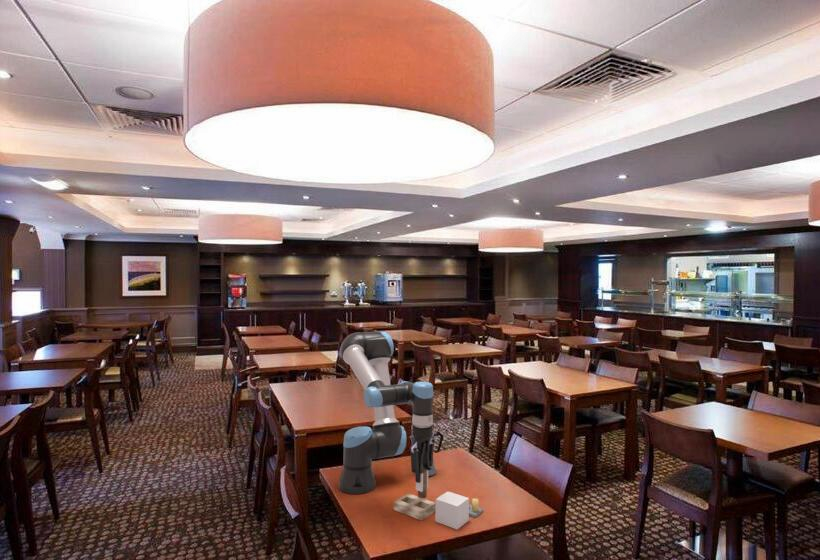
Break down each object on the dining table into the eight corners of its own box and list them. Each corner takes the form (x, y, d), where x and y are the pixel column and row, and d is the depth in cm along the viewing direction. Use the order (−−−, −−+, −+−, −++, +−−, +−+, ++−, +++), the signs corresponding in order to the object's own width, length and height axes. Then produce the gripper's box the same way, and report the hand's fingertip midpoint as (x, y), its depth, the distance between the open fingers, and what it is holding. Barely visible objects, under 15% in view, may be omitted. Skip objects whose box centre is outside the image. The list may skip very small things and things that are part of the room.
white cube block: (435, 521, 171) (435, 499, 171) (447, 512, 178) (447, 491, 178) (457, 529, 166) (457, 506, 166) (468, 520, 172) (469, 498, 172)
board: (458, 512, 178) (458, 498, 178) (466, 506, 183) (466, 493, 183) (475, 517, 174) (475, 504, 174) (483, 511, 179) (483, 498, 179)
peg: (416, 496, 177) (416, 469, 177) (421, 493, 179) (421, 466, 179) (423, 499, 175) (423, 471, 175) (428, 495, 177) (428, 468, 177)
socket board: (393, 509, 179) (393, 501, 179) (408, 501, 187) (408, 493, 187) (422, 520, 172) (422, 512, 172) (436, 511, 179) (436, 503, 179)
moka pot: (406, 470, 216) (407, 426, 216) (438, 467, 221) (439, 423, 221) (412, 479, 207) (413, 432, 207) (446, 475, 212) (446, 429, 212)
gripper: (418, 432, 169) (417, 499, 169) (442, 422, 181) (442, 484, 181) (401, 428, 173) (400, 493, 173) (426, 418, 186) (425, 479, 186)
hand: (422, 488), depth 177 cm, fingers closed on peg, 3 cm apart
